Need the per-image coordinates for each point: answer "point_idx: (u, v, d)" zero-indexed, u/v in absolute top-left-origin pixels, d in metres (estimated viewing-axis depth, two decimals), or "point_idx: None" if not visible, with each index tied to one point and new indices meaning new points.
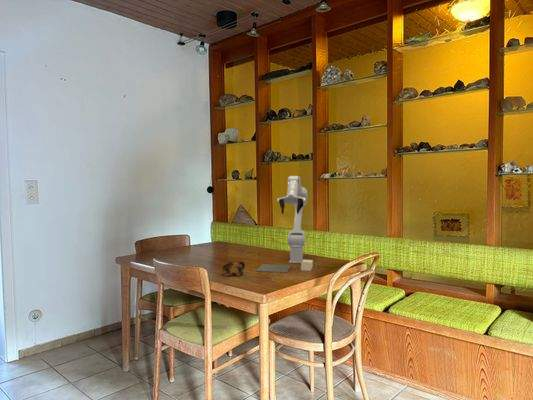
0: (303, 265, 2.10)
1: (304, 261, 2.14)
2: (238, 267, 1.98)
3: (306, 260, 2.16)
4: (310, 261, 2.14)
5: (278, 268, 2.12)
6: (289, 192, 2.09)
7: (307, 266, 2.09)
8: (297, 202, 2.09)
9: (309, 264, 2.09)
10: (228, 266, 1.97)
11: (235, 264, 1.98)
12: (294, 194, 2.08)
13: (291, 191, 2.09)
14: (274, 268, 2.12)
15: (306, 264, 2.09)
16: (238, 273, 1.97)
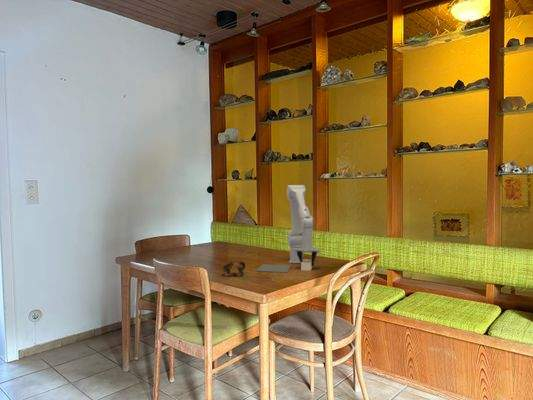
0: (303, 265, 2.10)
1: (304, 261, 2.14)
2: (238, 267, 1.98)
3: (306, 260, 2.16)
4: (310, 261, 2.14)
5: (278, 268, 2.12)
6: (304, 244, 2.11)
7: (307, 265, 2.09)
8: None
9: (309, 264, 2.09)
10: (228, 266, 1.97)
11: (235, 264, 1.98)
12: (309, 247, 2.11)
13: (306, 243, 2.10)
14: (274, 268, 2.12)
15: (306, 264, 2.09)
16: (239, 273, 1.97)
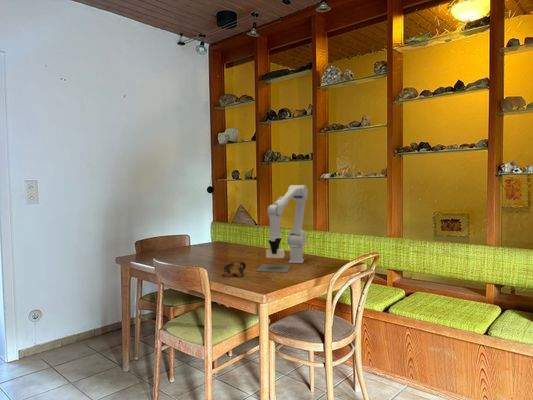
0: None
1: None
2: (239, 268, 1.97)
3: (280, 249, 2.13)
4: None
5: (278, 268, 2.12)
6: None
7: None
8: (277, 238, 2.10)
9: (266, 251, 2.12)
10: (229, 267, 1.96)
11: (236, 265, 1.97)
12: (270, 233, 2.11)
13: None
14: (274, 268, 2.12)
15: None
16: (239, 274, 1.96)
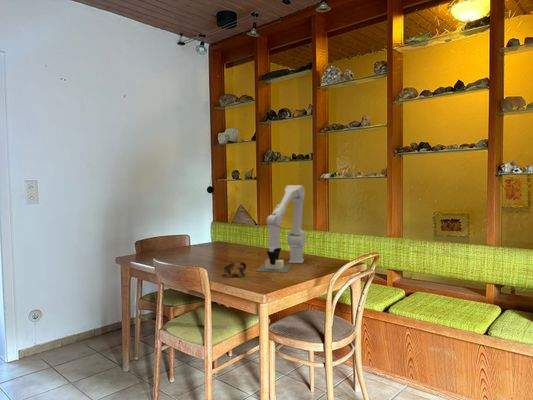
0: None
1: None
2: (240, 268, 1.96)
3: (279, 260, 2.14)
4: None
5: None
6: None
7: None
8: None
9: (265, 261, 2.13)
10: (230, 267, 1.95)
11: (237, 265, 1.96)
12: (269, 243, 2.12)
13: None
14: None
15: None
16: (240, 274, 1.95)
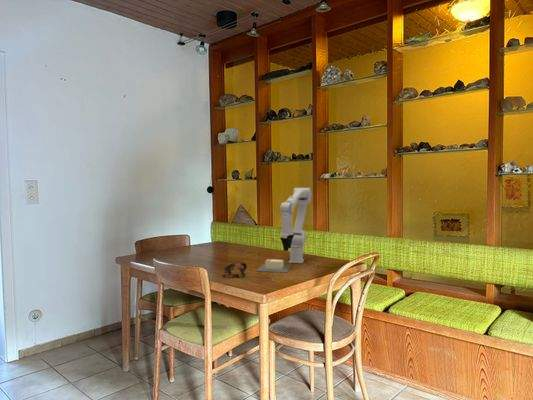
0: None
1: None
2: (240, 268, 1.96)
3: (279, 260, 2.14)
4: (274, 261, 2.12)
5: None
6: None
7: None
8: (289, 234, 2.14)
9: (265, 261, 2.13)
10: (230, 267, 1.94)
11: (237, 265, 1.96)
12: (282, 230, 2.16)
13: None
14: None
15: None
16: (240, 274, 1.95)
